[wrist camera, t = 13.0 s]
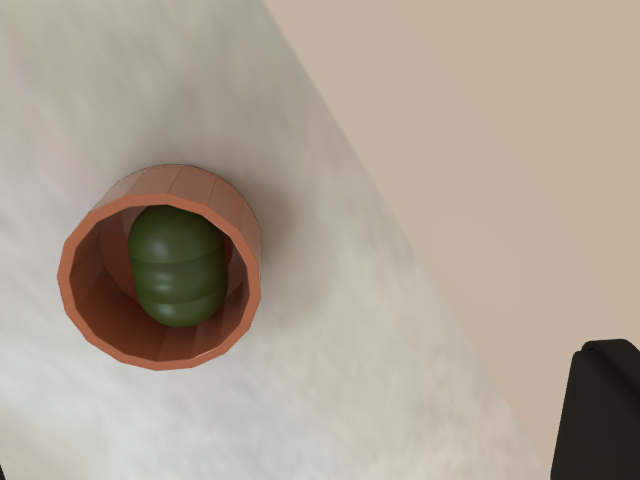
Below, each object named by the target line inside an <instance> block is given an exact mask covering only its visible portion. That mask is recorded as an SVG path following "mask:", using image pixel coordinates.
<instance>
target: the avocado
mask: <svg viewBox="0 0 640 480" xmlns="http://www.w3.org/2000/svg"><path fill="white" fill-rule="evenodd" d="M128 252H129V257H130V263H131V268H132V274H133V279H134V284H135V290H136V294H137V297H138V300H139V303H140V304H141V306H142V308H143V309H144V310H145V312H146V313H147V314H148V315H149V316H150V317H151V318H153V319H154V320H156V321H157V322H159V323H161V324H163V325H166V326H170V327H174V328H187V327H192V326H196V325H199V324H201V323H203V322H205V321H206V320H208V319H209V318H211V317H212V316H213V315H214V314H215V313H216V312H217V311H218V309H219V308H220V307H221V305H222V304H223V302H224V299H225V297H226V294H227V289H228V272H227V263H226V254H225V245H224V238H223V233H222V230H221V229H219V228H218V227H217V226H215V225H214V224H213V223H212V222H210V221H209V220H208V219H206V218H205V217H204V216H203V215H200V214H197V213H194V212H190V211H187V210H184V209H181V208H177V207H174V206H171V205H167V204H165V205H149V206H147V207H146V208H145V209H144V210H143V211H142V212H141V213H140V214H139V215H138V216H137V218H136V219H135V221H134V222H133V224H132V227H131V229H130V232H129V237H128Z"/></svg>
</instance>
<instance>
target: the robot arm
mask: <svg viewBox="0 0 640 480" xmlns="http://www.w3.org/2000/svg"><path fill="white" fill-rule="evenodd" d="M550 479H551V480H640V351H639V350H638V349H637V348H636V347H635V346H634V345H633V344H632V343H630V342H629V341H627V340H625V339H611V340H597V341H588V342H586V343H585V344H584V345H583V347H582V349H581V351H577V352H575V354H574V355H573V358H572V362H571V367H570V372H569V378H568V383H567V388H566V394H565V399H564V404H563V410H562V415H561V421H560V426H559V431H558V437H557V442H556V448H555V453H554V458H553V463H552V468H551V475H550ZM0 480H6V479H5V477H4V474H3V471H2V468H1V465H0Z"/></svg>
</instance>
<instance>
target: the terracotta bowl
mask: <svg viewBox="0 0 640 480" xmlns="http://www.w3.org/2000/svg"><path fill="white" fill-rule="evenodd" d="M165 204H167V205H171V206H174V207H177V208H181V209H184V210H187V211H190V212H194V213H197V214H200V215H203V216H204V217H205V218H206V219H208V220H209V221H210V222H212V223H213V224H214V225H215V226H217V227H218V228H219V229H221V230H222V233H223V238H224V245H225V254H226V263H227V272H228V289H227V294H226V297H225V299H224V302H223V304H222V305H221V307H220V308H219V309H218V311H217V312H216V313H215V314H214V315H213V316H212V317H211V318H209V319H208V320H206V321H205V322H203V323H201V324H199V325H196V326H192V327H187V328H174V327H170V326H166V325H163V324H161V323H159V322H157V321H156V320H154V319H153V318H151V317H150V316H149V315H148V314H147V313H146V312H145V310H144V309H143V308H142V306H141V304H140V303H139V300H138V297H137V294H136V290H135V284H134V279H133V274H132V268H131V263H130V257H129V252H128V237H129V232H130V229H131V227H132V224H133V222H134V221H135V219H136V218H137V216H138V215H139V214H140V213H141V212H142V211H143V210H144V209H145V208H146V207H147V206H149V205H165ZM261 275H262V252H261V237H260V229H259V226H258V224H257V220H256V218H255V216H254V213H253V211H252V209H251V208H250V206H249V205H248V203H247V202H246V200H245V199H244V198H243V197H242V195H241V194H240V193H239V192H238V191H237V190H236V189H235V188H234V187H233V186H231V185H230V184H229V183H227V182H226V181H225V180H223V179H222V178H220V177H218V176H216V175H214V174H213V173H210V172H208V171H205V170H203V169H200V168H196V167H192V166H186V165H178V164H166V165H158V166H153V167H149V168H145V169H142V170H140V171H137V172H135V173H133V174H131V175H129V176H128V177H126V178H124V179H123V180H121V181H119V182H117V183H116V184H115V185H114V186H113V187H112V188H111V189H110V190H109V191H108V192H107V193H106V195H105V196H104V197H103V198H102V199H101V200H100V201H99V202H98V203H97V204H96V205H95V206H94V207H93V209H92V210H91V211H90V212H89V213H88V214H87V215H86V216H85V218H84V219H83V220H82V221H81V223H80V224H79V225H78V226H77V227H76V229H75V230H74V231H73V232H72V234H71V235H70V236H69V237H68V238H67V240H66V241H65V243H64V247H63V251H62V256H61V260H60V265H59V269H58V274H57V280H58V284H59V288H60V292H61V296H62V300H63V304H64V309H65V312H66V314H67V315H68V317H69V318H70V319H71V320H72V322H73V323H74V324H75V326H76V327H77V328H78V330H79V331H80V332H81V334H82V335H83V336H84V338H85V339H86V340H87V341H88V342H89V343H90V344H92V345H94V346H95V347H97V348H98V349H100V350H102V351H103V352H105V353H106V354H108V355H109V356H111V357H113V358H114V359H116V360H117V361H119V362H121V363H125V364H130V365H134V366H138V367H142V368H146V369H150V370H155V371H162V370H173V369H185V368H193V367H196V366H198V365H200V364H203V363H205V362H207V361H209V360H212V359H214V358H216V357H218V356H220V355H223V354H225V353H226V352H227V351H228V350H229V349H230V348H231V347H232V346H233V345H234V344H235V343H236V342H237V341H238V340H239V339H240V338H241V337H242V336H243V335H244V334H245V333H246V332H247V331H248V330H249V328H250V326H251V324H252V321H253V318H254V315H255V313H256V310H257V307H258V304H259V302H260V299H261Z"/></svg>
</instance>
